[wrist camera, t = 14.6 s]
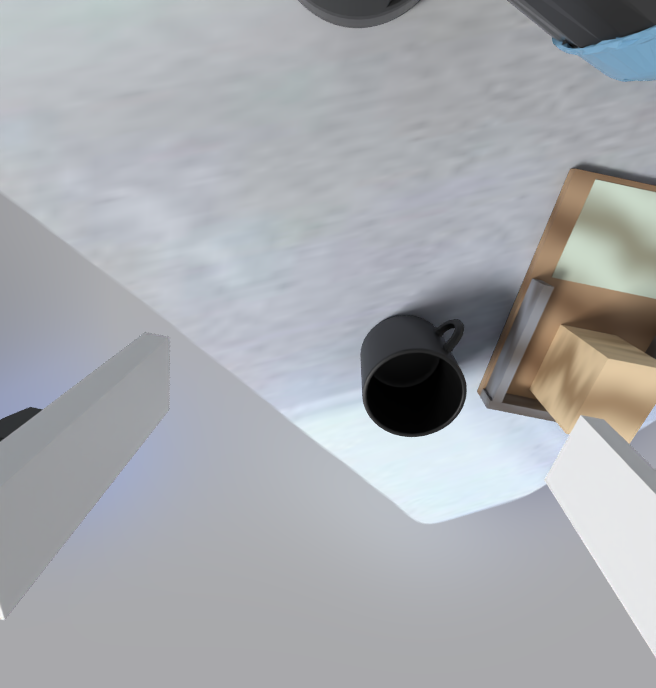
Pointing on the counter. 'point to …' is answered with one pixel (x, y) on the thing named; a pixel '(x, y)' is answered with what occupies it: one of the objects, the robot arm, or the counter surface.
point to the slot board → (580, 284)
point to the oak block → (596, 381)
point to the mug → (412, 376)
